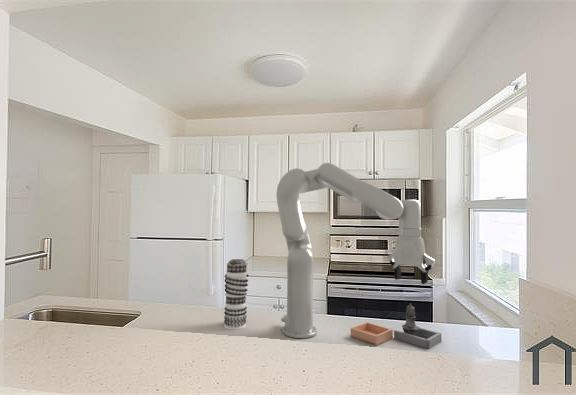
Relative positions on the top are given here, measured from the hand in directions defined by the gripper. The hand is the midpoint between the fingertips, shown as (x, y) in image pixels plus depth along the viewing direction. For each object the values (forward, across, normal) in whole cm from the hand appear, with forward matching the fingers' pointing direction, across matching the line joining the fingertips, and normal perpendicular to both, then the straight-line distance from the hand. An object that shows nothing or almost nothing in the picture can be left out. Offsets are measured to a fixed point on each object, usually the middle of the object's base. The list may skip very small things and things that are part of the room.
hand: (410, 281), depth 112 cm
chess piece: (+20, 0, 0) cm, 20 cm away
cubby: (+20, +1, 0) cm, 20 cm away
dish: (+20, -9, -11) cm, 24 cm away
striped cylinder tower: (+19, -50, -41) cm, 68 cm away
